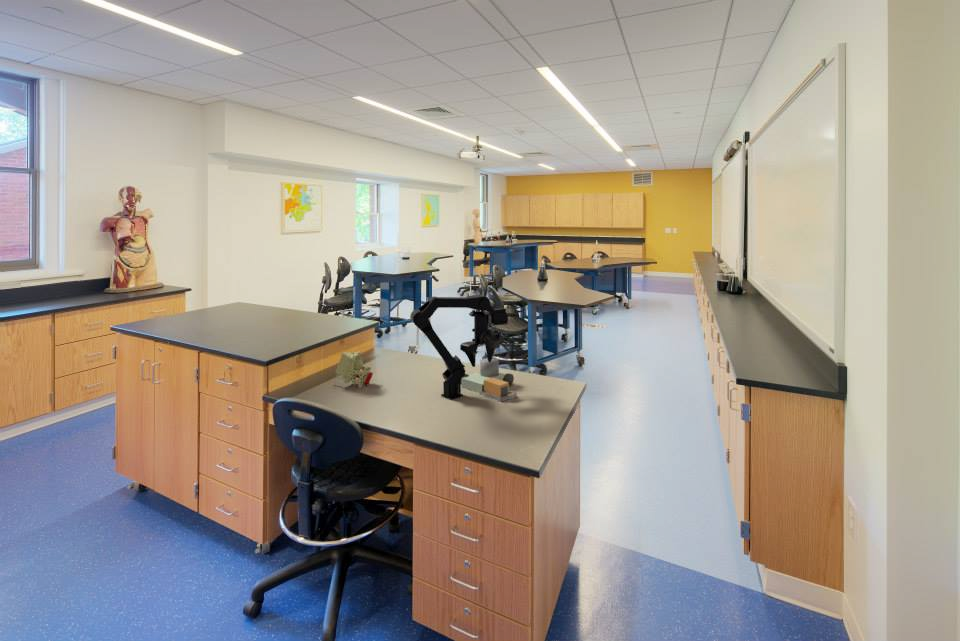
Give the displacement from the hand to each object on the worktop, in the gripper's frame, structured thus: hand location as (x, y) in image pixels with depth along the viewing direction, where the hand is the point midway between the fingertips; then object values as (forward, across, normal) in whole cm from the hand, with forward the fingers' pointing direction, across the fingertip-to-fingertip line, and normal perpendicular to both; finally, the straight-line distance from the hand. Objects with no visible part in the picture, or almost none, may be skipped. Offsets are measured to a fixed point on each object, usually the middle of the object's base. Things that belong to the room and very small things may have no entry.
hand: (481, 364), depth 198 cm
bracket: (+12, +2, -6) cm, 14 cm away
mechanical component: (+12, -29, +45) cm, 55 cm away
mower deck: (+12, +8, +5) cm, 15 cm away
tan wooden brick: (+12, +2, -6) cm, 14 cm away
